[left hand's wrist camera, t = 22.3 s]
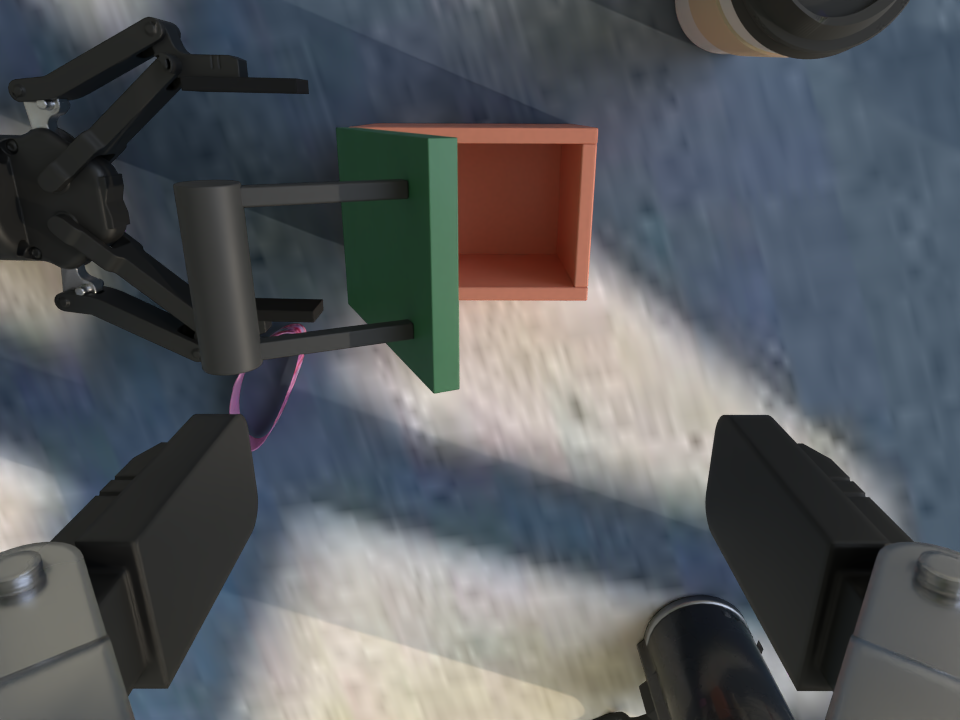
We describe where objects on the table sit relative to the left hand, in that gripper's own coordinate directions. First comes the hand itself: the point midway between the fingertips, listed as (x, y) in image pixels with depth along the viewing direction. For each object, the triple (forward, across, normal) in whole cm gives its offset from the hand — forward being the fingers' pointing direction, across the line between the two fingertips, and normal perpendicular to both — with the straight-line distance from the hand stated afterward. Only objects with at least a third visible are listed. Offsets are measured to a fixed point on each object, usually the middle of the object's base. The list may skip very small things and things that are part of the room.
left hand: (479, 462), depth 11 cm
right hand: (+32, +10, 0) cm, 33 cm away
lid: (+21, +4, 0) cm, 21 cm away
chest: (+38, 0, 0) cm, 38 cm away
